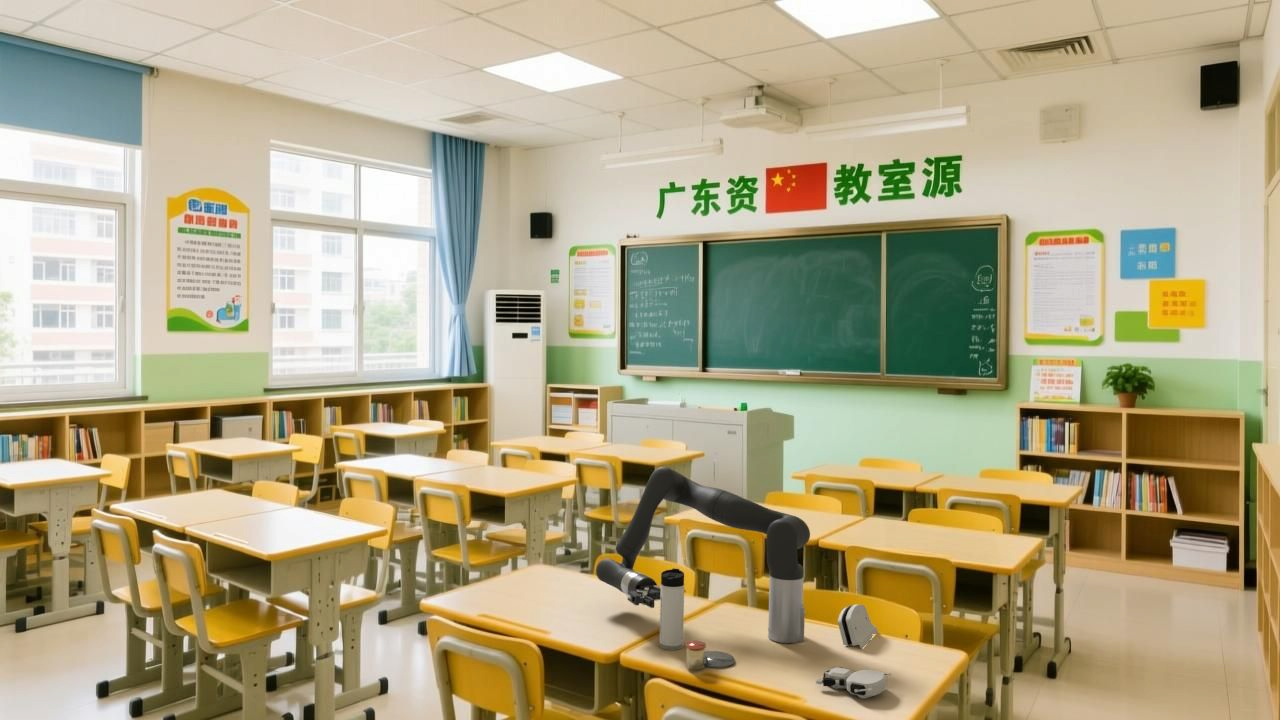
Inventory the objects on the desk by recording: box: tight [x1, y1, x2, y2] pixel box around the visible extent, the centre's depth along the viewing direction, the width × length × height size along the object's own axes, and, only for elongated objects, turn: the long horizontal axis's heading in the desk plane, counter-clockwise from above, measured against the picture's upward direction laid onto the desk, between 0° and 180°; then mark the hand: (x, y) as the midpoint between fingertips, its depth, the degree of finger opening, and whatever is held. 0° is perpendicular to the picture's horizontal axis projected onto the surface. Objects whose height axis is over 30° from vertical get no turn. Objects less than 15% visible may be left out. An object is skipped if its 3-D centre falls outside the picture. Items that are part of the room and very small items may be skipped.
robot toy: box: [815, 666, 892, 700], centre depth 205 cm, size 12×4×15 cm
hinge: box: [837, 603, 879, 649], centre depth 241 cm, size 17×5×10 cm, turn 150°
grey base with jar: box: [685, 639, 735, 671], centre depth 220 cm, size 16×10×6 cm, turn 138°
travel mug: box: [659, 568, 685, 651], centre depth 232 cm, size 6×7×20 cm
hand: (667, 602), depth 235 cm, fingers open, 8 cm apart
